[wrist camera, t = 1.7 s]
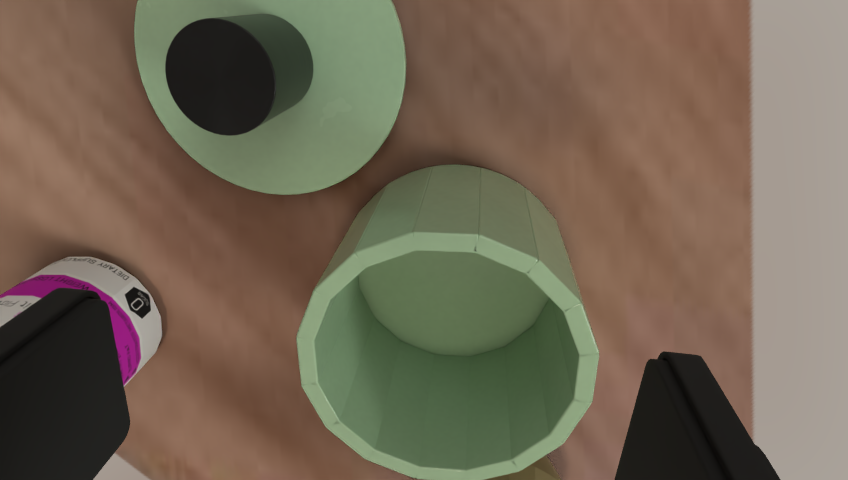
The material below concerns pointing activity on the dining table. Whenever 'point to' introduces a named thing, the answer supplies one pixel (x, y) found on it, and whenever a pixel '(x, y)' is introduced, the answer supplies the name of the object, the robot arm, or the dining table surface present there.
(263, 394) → the dining table surface
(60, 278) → the supplement can
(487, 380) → the tin
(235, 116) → the lid
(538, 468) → the squeeze bottle
